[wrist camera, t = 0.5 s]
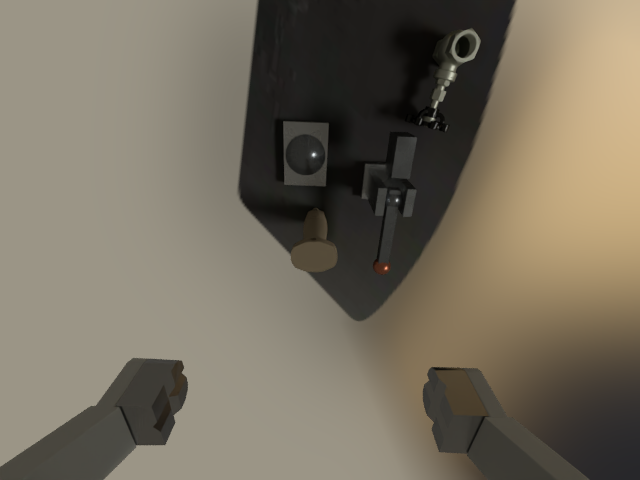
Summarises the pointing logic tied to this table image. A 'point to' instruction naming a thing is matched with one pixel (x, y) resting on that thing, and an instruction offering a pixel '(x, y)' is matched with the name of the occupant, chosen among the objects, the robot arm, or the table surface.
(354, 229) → the table surface
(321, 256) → the handle
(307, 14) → the table surface
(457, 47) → the valve
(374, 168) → the frame
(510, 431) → the robot arm
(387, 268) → the lever
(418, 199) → the table surface
